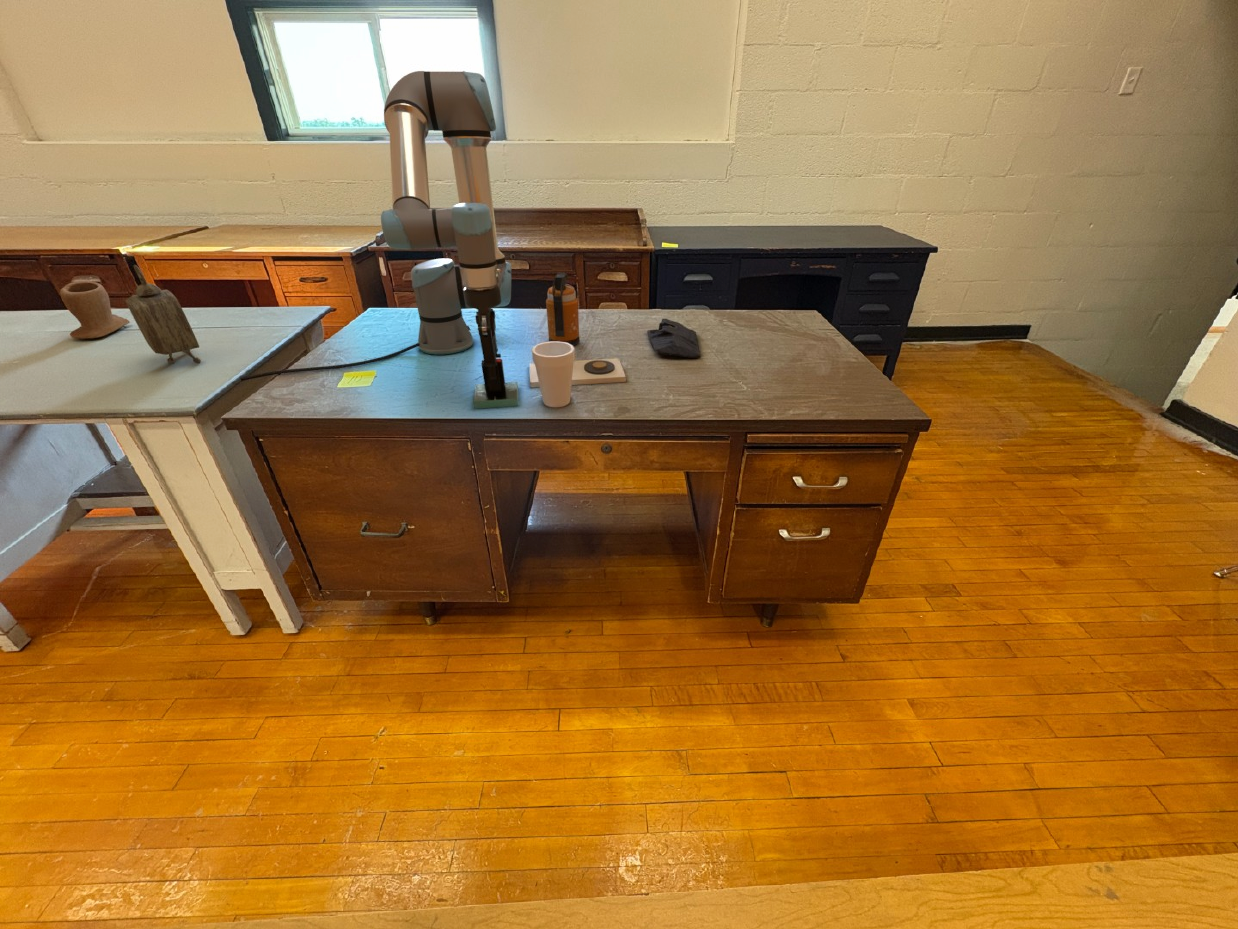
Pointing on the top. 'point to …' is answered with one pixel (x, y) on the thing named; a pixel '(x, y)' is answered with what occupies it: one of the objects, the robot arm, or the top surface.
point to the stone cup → (91, 309)
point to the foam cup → (554, 371)
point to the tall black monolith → (501, 374)
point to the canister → (562, 311)
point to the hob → (589, 372)
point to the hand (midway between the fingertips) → (495, 387)
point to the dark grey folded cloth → (674, 340)
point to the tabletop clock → (161, 320)
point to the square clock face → (496, 397)
